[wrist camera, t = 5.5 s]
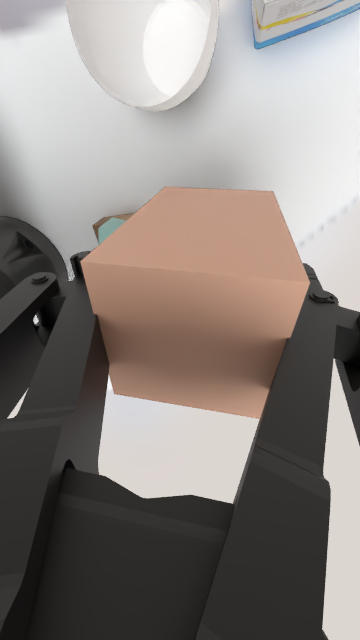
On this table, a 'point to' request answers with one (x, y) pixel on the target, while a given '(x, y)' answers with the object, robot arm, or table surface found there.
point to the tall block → (198, 298)
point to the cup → (146, 47)
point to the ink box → (294, 17)
